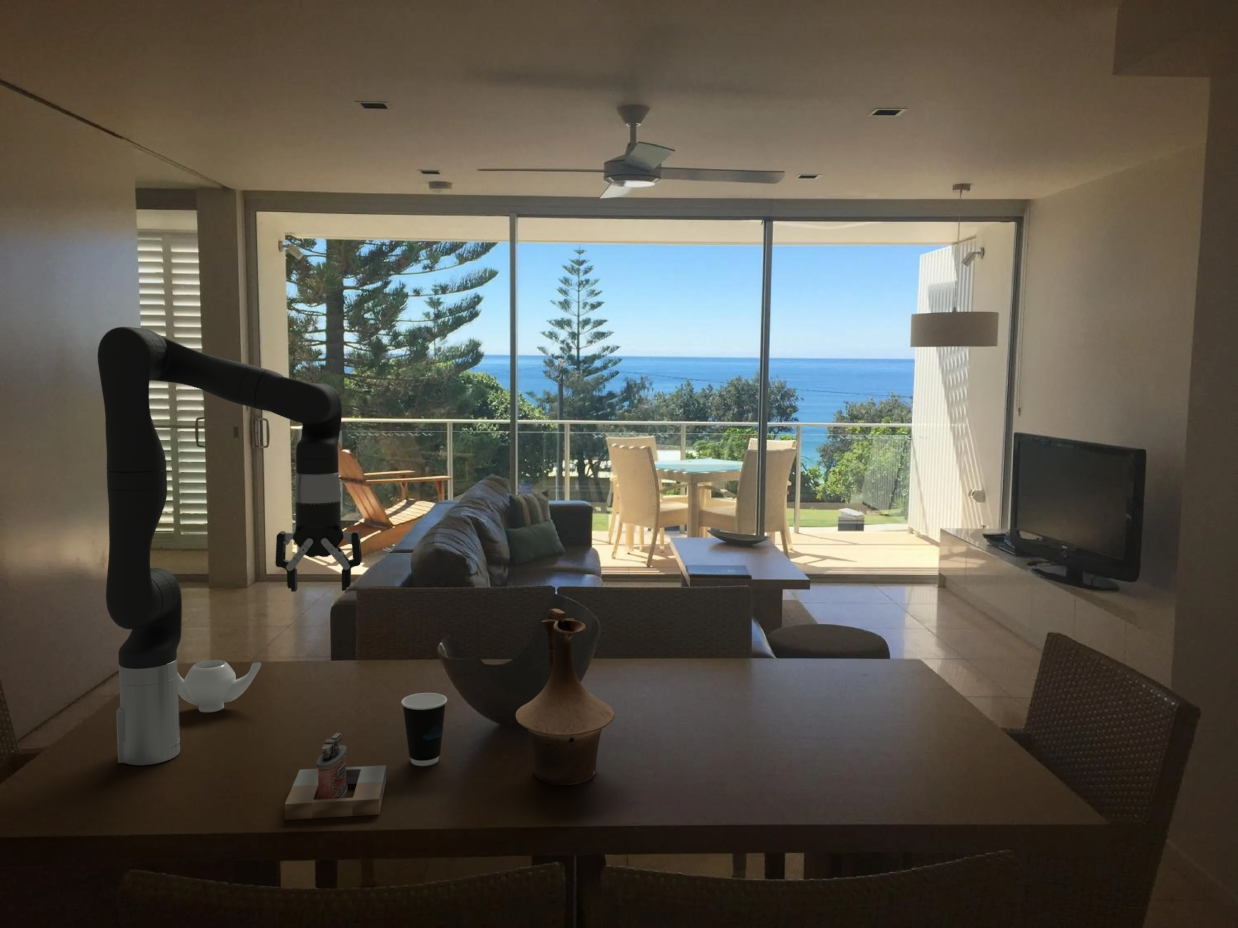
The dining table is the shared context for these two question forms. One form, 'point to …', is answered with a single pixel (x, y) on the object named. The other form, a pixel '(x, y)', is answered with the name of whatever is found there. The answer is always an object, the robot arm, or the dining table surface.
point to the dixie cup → (424, 726)
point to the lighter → (332, 769)
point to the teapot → (213, 684)
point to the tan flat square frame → (363, 802)
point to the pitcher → (564, 713)
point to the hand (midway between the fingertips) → (319, 590)
